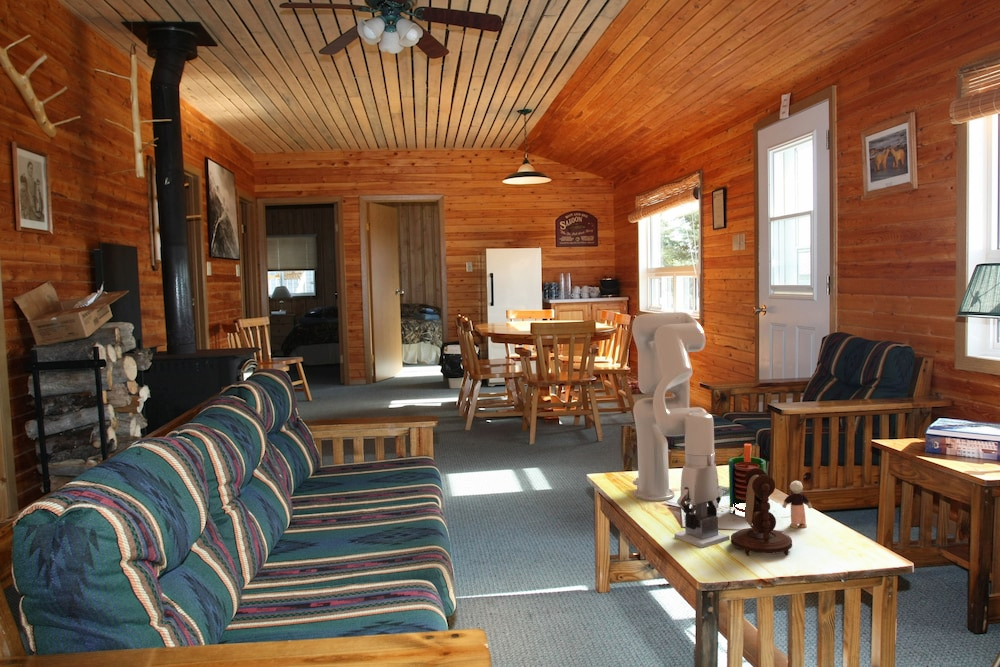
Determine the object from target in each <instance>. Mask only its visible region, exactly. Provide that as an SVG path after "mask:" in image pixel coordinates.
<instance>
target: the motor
mask: <svg viewBox="0 0 1000 667" xmlns="http://www.w3.org/2000/svg"><path fill="white" fill-rule="evenodd" d="M766 464H767V462H766V460H765V459H763V458H759V457H755V456H752V443H744V445H743V456H736V457H731V458H730V459H728V479H729V480H728V485H729V493H728V494H729V508H730V507H733V504H734V507H735V505H736V504H739V503H746V494H747V488H748V485H747V484H746V482H745V476H746V473H747V472H748V471H749V470H750V469H753V468H760V469H762V470H763V471H765V473H766V474H767V468H766V467H767V466H766ZM735 503H736V504H735ZM757 503H758V502H757ZM735 508H736V509H737V510H739V511H742V512H745V510H743V509H739V508H737V507H735Z"/></svg>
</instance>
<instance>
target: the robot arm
mask: <svg viewBox="0 0 1000 667" xmlns="http://www.w3.org/2000/svg"><path fill="white" fill-rule="evenodd" d="M631 326H632V328H631V329H632V330H631V331H632V336H633V341H634V343H635V346H636V350H637V376H638V377H637V383H638V390H640V392H641V393H642V394H645V395H653V397H646V398H645V397H644V398H641V399H638V400H637V401H636V402H635V403H634V405H633V408H632V409H633V419H634V424H635V429H636V443H637V472H638V475H637V477H636V478H635V479H634V480H633V481H632V484H633V485H634V486H636V489H635V490H634V492H633V495H634V497H635V498H637V499H639V500H643V501H650V502H652V501H653V502H654V501H655V502H660V501H667V500H670V499H672V498H674V496H675V491H673V490H672V489H670V483H669V482H670V476H669V444H668V440H667V437H680V436H682V437H683V436H684V458H685V464H684V465H683V467H682V470H681V477H680V478H681V479H680V496H679V498H678V499H677V500H676V503H677V504H678V506H679V507H680V509H681V510H682V511H683V513H685V515H686V527H688V528H691V529H693V530H694V529H696V515H695V514H694V513H695V509H696V506H697V504H701V503H704V502H707V513H708V514H711V515H714V516H717V517H718V512H717V511H718V508H719V506H720V504H719V503H720V502H721V500H722V499H721V498H722V497H723V495H724V490H723V489H722V488H721V487H720V486H719V475H718V468H717V464H716V462H715V457H716V453H715V431H714V430H715V426H714V425H715V422H714V417H713V415H712V414H710V413H709V412H708V411H707V410H706V409H704V408H703V407H700V406H695V407H690V398H691V396H690V393H691V392H690V390H691V389H690V388H691V384H690V378H691V377H692V376H693V368H692V363H691V359H690V356H689V353H695V352H697V353H698V352H702V350H704V349H705V347H706V340H707V339H706V334H705V331H704V329H703V327H702V326H701V324H700V323H699V322H698V321H697V320H696V319H695V318H694V317H692V316H691V315H690V314H689V313H687V312H682V311H681V312H679V311H678V312H677V311H676V312H655V313H653V312H651V313H644V314H639V315H637V316H636V317H634V319H633V321H632V325H631ZM666 394H672V396H666Z"/></svg>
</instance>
